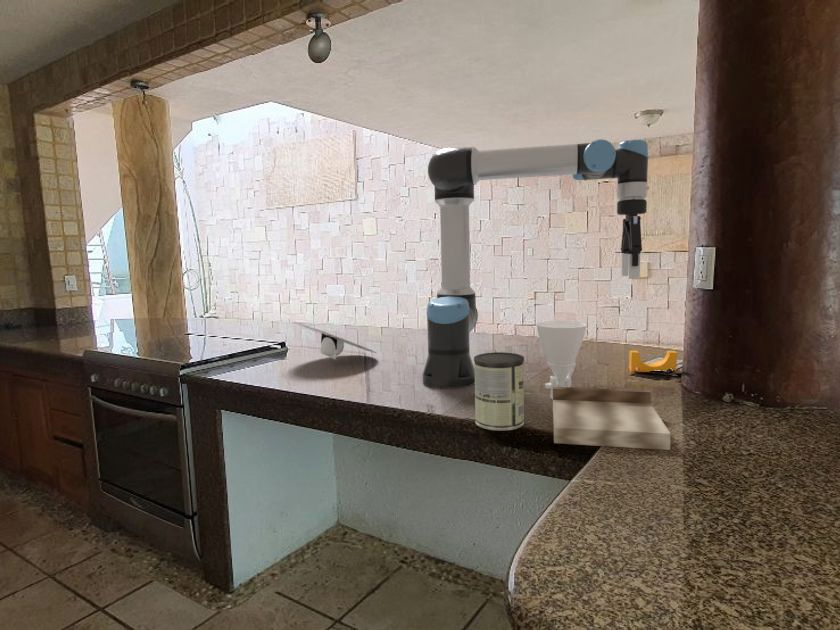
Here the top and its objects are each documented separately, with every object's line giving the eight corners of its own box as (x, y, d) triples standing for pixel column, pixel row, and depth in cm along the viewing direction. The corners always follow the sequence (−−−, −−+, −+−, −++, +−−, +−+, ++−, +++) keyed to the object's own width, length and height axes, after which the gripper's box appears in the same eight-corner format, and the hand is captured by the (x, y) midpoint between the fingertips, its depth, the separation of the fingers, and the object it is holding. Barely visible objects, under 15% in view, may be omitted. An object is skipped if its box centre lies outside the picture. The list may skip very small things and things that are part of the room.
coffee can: (474, 414, 116) (473, 352, 114) (521, 415, 114) (521, 351, 113) (474, 431, 105) (473, 362, 104) (526, 431, 104) (526, 362, 103)
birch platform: (553, 443, 98) (554, 414, 97) (552, 410, 117) (552, 386, 116) (670, 449, 93) (671, 420, 92) (648, 415, 112) (649, 390, 112)
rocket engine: (527, 394, 131) (527, 322, 128) (566, 389, 134) (567, 319, 132) (554, 406, 120) (554, 329, 118) (595, 400, 124) (597, 325, 121)
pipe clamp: (671, 371, 151) (672, 349, 150) (676, 375, 146) (677, 352, 146) (627, 371, 153) (628, 349, 152) (631, 374, 148) (631, 352, 148)
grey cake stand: (271, 329, 179) (328, 314, 200) (289, 382, 179) (344, 362, 200) (324, 307, 162) (380, 294, 183) (344, 366, 162) (397, 346, 183)
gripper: (655, 194, 130) (653, 279, 133) (638, 202, 154) (636, 274, 157) (623, 196, 132) (621, 280, 134) (611, 203, 156) (610, 275, 159)
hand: (630, 277), depth 146 cm, fingers open, 13 cm apart
